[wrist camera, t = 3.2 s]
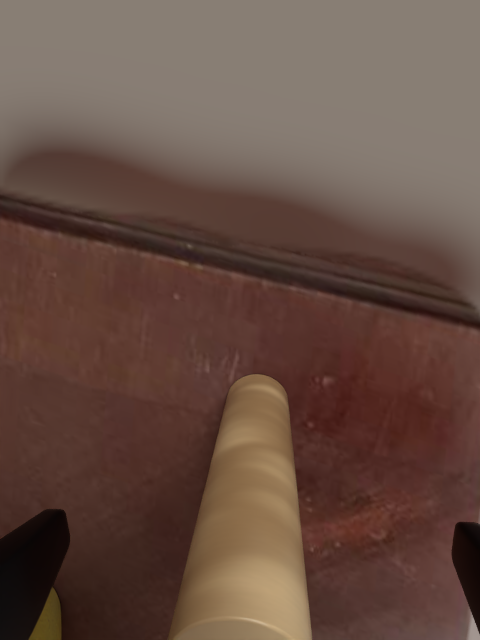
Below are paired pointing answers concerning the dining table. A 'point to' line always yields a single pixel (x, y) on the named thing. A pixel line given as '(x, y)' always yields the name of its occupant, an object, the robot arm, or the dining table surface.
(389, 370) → the dining table surface
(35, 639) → the flower pot
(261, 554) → the peg
